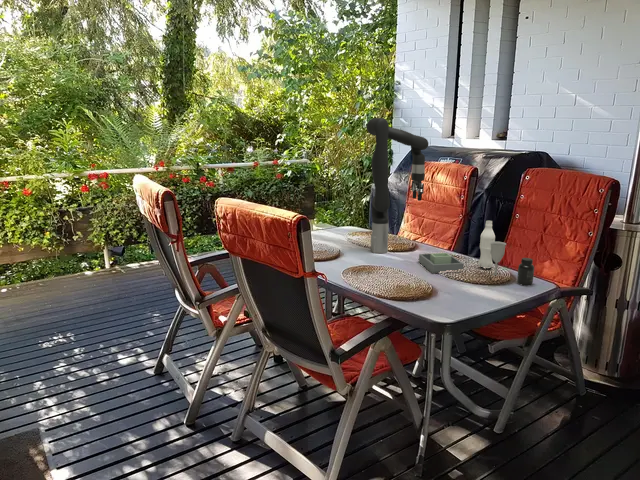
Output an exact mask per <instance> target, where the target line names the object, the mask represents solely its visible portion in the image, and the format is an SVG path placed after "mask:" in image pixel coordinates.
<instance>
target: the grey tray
mask: <svg viewBox="0 0 640 480" xmlns="http://www.w3.org/2000/svg"><path fill="white" fill-rule="evenodd" d="M435 253H436V252H435ZM435 253H419V254H418V263H419V264H420V263H421V264H420V265H421V266H423V267H424V266H425V267H426V268H425V267H424V268H425V269H427V271H429V272H430V273H431V274H433V275H434V274H436V273H437V274H439V273H438V272H440V271H446V270H458V269H463V270H464V263H463V261H460V260H459V259H458V258H457V257H455V256H453V255H452V254H450V253H448V252H447V253H448V254H449V255H451V264H433V263H432V262H431V261H430V254H435Z"/></svg>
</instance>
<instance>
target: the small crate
mask: <svg viewBox="0 0 640 480" xmlns="http://www.w3.org/2000/svg"><path fill="white" fill-rule="evenodd" d="M429 254H430V261H431V262H432V263H433V264H451V255H452V254H450V253H449V254H450V255H449V254H448V252H435V254H432V253H429Z"/></svg>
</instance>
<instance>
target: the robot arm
mask: <svg viewBox="0 0 640 480" xmlns="http://www.w3.org/2000/svg"><path fill="white" fill-rule="evenodd" d="M366 130H367V133H369V134H370V135H371V136H375V149H374V152H373V153H372V157H371V174H372V179H373V184H374V196H373V197H372V200H371V220H372V223H371V234H370V251H371V253H373V254H386V253H388V249H389V248H388V247H389V246H388V245H389V244H388V243H389V212H388V210H389V209H390V206H391V200H390V199H391V198H390V192H389V152H388V151H389V148H388V147H389V139H390V140H392V141H394V142H397V143H400V144H402V145H403V146H408V147H410V149H411V155H412V165H411V186H410V189H411V190H410V191H411V192H412V199H417V202H420V201H422V199H423V198H422V196H423V194H425V193H424V187H425V183H422V182H423V181H425V175H426V168H425V167H426V165H425V164H426V163H425V162H426V156H425V154H423V153H422V151H424V150H427V148H428V147H429V141H428V138H426V137H424V136H420V135H416V134H413V133H410V132H409V131H406V130H403V129H399V128H396V127H395V128H394V127H391V126H390V125H389V123H388V120H387V119H386V118H383V117H373V118H371V119H370V120H368V121H367V123H366Z"/></svg>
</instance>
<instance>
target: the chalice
mask: <svg viewBox="0 0 640 480" xmlns="http://www.w3.org/2000/svg"><path fill="white" fill-rule="evenodd" d="M490 244H491V252H490V253H491V256H492V262H494V263H495V264H494V268H493V270H494V271H493V272H494V273H492V274H491V275H494V276H495V275H496V276H497V274H498V267H499V265H498V263H500V262H501V260H502V259H503V257H504V256H505V250H506V246H507V243H506V242H502V241H495V242H490Z"/></svg>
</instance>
